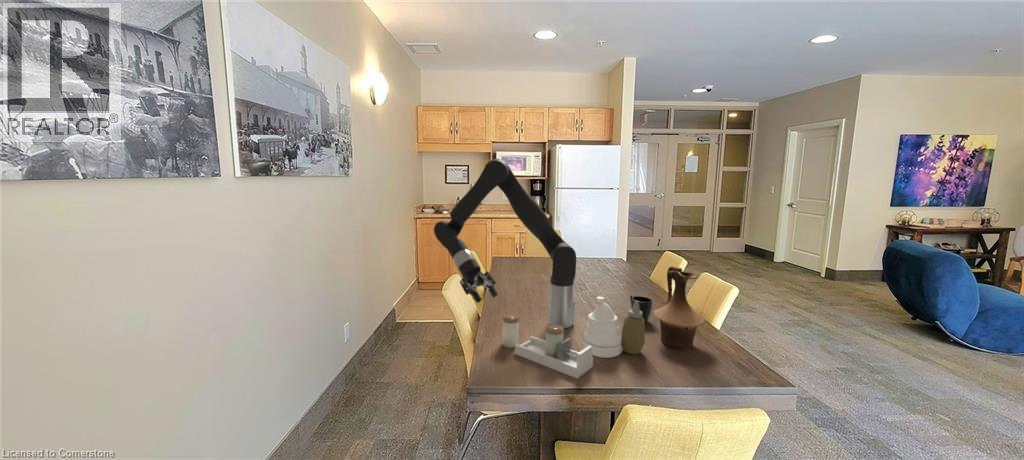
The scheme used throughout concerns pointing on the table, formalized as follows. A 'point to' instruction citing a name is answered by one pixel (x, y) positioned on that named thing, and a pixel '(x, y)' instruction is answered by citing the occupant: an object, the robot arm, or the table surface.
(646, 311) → the mug
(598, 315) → the honey pot
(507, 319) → the cream jar
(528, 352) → the jar lane
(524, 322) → the table surface
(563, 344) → the pusher
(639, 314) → the squeeze bottle
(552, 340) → the sage jar
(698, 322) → the pitcher
